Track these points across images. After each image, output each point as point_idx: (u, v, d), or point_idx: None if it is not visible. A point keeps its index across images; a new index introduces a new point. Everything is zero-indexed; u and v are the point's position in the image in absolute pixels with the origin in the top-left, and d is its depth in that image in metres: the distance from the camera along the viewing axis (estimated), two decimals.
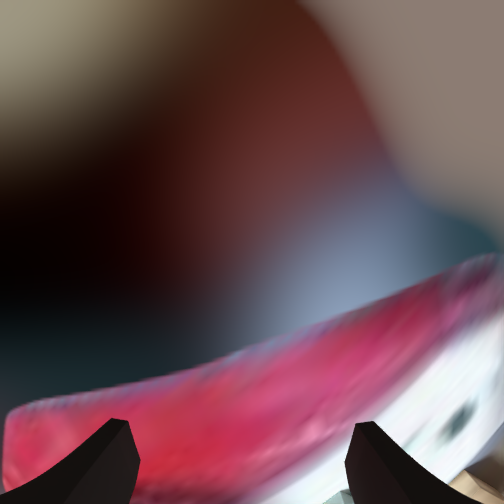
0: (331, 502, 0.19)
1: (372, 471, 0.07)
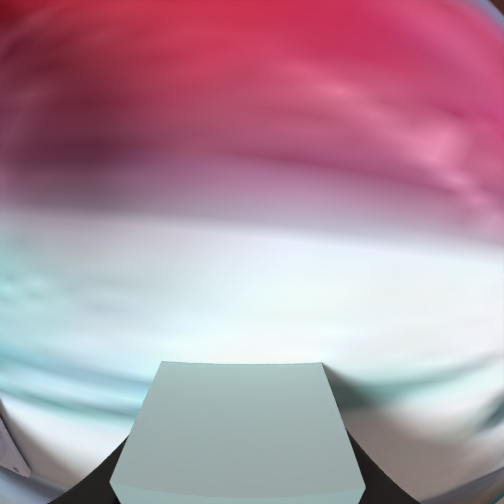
0: (288, 375, 0.09)
1: None
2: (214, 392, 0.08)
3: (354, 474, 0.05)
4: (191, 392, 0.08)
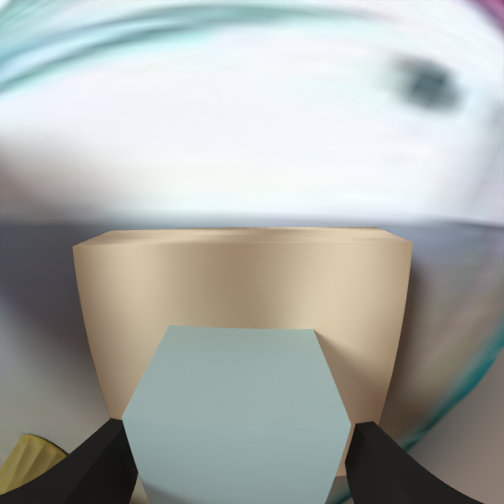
0: (283, 337, 0.10)
1: (372, 471, 0.07)
2: (217, 348, 0.09)
3: (341, 414, 0.06)
4: (196, 348, 0.09)
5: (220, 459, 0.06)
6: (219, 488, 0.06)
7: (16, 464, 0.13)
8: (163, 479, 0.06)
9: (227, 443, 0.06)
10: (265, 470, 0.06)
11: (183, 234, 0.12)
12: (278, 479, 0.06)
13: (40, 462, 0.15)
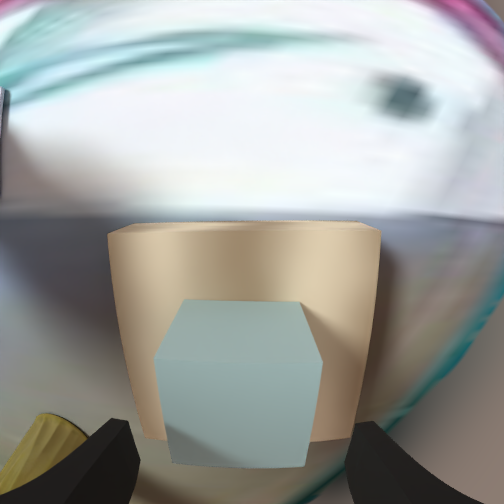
0: (275, 307, 0.13)
1: (372, 471, 0.07)
2: (223, 314, 0.12)
3: (315, 355, 0.09)
4: (206, 314, 0.12)
5: (226, 392, 0.09)
6: (225, 422, 0.09)
7: (34, 440, 0.16)
8: (181, 415, 0.09)
9: (231, 375, 0.09)
10: (260, 402, 0.09)
11: (197, 225, 0.15)
12: (270, 412, 0.09)
13: (56, 437, 0.18)
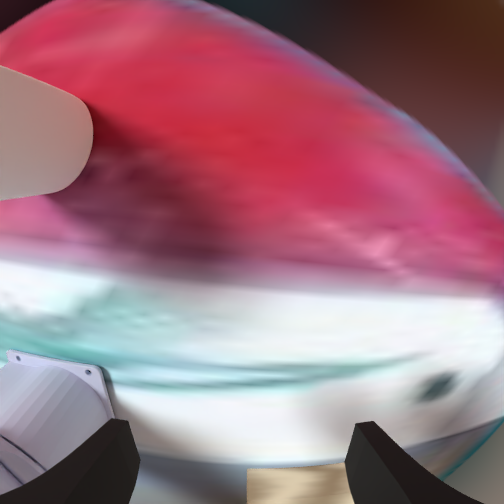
0: None
1: (372, 471, 0.07)
2: None
3: None
4: None
5: None
6: None
7: None
8: None
9: None
10: None
11: (295, 481, 0.20)
12: None
13: None
